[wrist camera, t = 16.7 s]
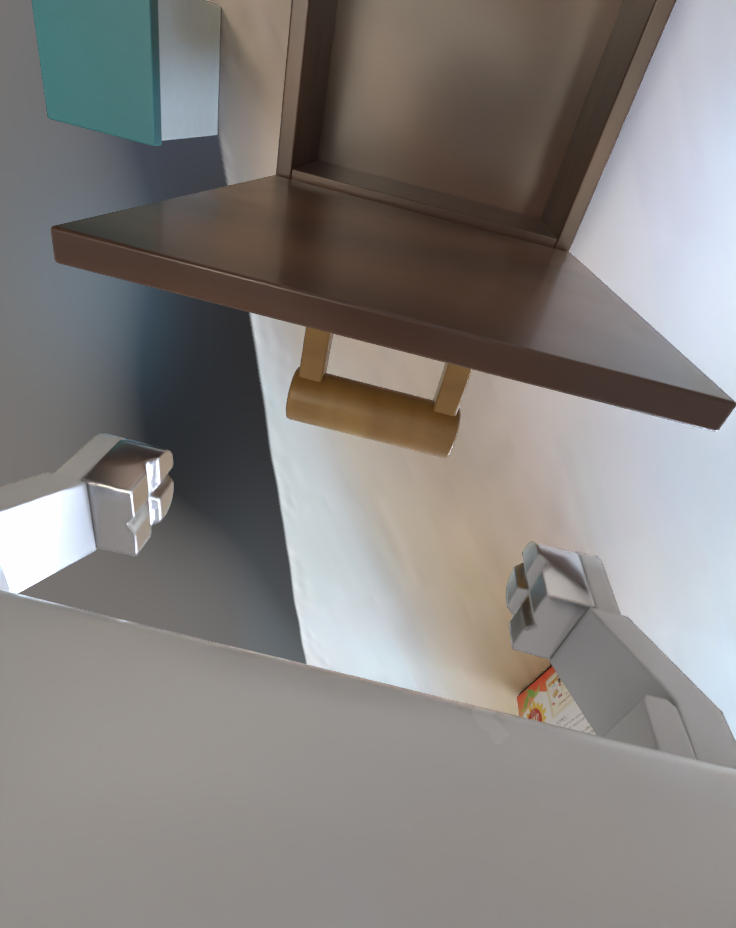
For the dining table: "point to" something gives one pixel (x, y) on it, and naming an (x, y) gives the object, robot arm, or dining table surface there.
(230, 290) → the lid
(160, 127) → the white teal-lidded container
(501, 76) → the chest
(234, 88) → the dining table surface
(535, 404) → the dining table surface
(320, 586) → the dining table surface
